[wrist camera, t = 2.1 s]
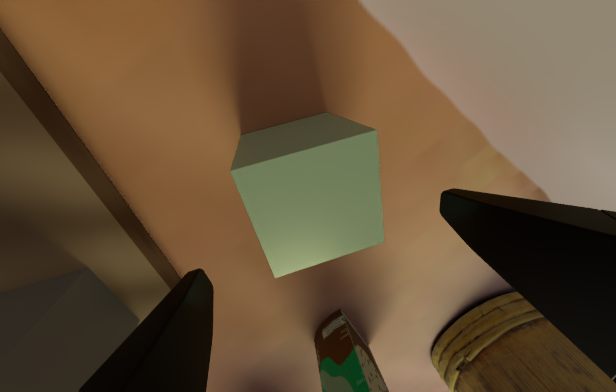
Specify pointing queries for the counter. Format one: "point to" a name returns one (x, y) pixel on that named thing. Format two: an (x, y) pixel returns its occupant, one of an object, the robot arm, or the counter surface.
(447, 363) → the tankard
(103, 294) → the gray block
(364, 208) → the sage cap
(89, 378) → the robot arm
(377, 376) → the food container
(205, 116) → the counter surface
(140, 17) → the counter surface
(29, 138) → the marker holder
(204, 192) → the counter surface
